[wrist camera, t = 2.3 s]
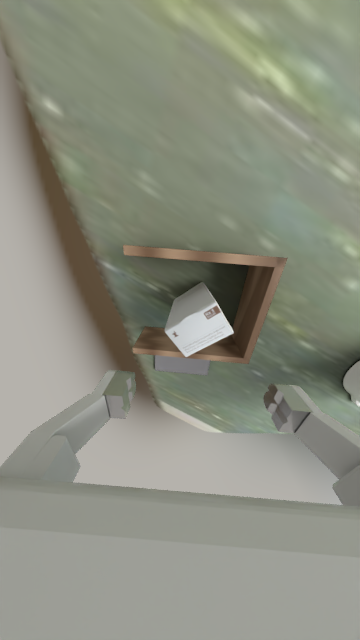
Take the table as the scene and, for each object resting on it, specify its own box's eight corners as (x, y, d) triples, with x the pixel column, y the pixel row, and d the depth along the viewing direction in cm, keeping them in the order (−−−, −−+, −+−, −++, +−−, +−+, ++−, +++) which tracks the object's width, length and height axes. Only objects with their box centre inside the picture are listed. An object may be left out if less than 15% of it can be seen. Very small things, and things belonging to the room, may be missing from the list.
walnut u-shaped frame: (258, 256, 21) (287, 258, 15) (234, 338, 28) (248, 363, 22) (142, 247, 22) (123, 245, 15) (145, 330, 28) (133, 353, 22)
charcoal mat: (213, 345, 29) (213, 346, 28) (207, 373, 32) (207, 375, 32) (155, 339, 29) (154, 341, 29) (155, 368, 33) (155, 370, 32)
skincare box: (186, 317, 27) (185, 361, 16) (172, 297, 25) (160, 332, 14) (215, 299, 25) (237, 336, 14) (202, 278, 23) (215, 300, 12)
